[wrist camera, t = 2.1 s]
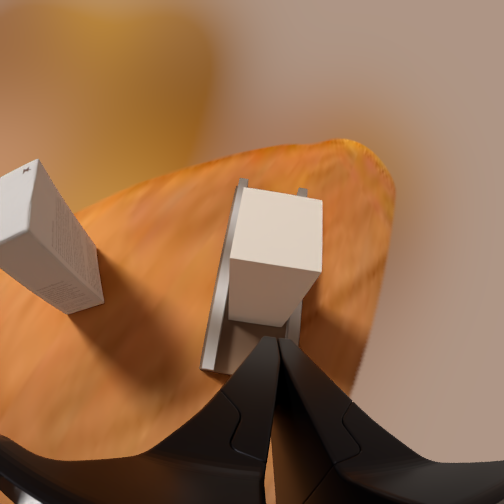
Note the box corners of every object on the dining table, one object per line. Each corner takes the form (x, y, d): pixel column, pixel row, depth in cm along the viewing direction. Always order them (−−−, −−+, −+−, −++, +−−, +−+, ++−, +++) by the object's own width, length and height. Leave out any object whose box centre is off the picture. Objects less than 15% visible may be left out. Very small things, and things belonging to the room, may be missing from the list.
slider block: (281, 327, 21) (321, 272, 12) (228, 319, 21) (229, 257, 12) (286, 278, 23) (322, 200, 14) (236, 271, 23) (243, 187, 14)
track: (292, 382, 20) (298, 381, 18) (200, 369, 20) (197, 366, 18) (305, 203, 28) (310, 189, 27) (235, 192, 28) (236, 177, 27)
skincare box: (60, 259, 23) (-7, 178, 13) (97, 246, 24) (40, 154, 14) (66, 318, 21) (-22, 253, 10) (106, 305, 22) (29, 228, 11)
